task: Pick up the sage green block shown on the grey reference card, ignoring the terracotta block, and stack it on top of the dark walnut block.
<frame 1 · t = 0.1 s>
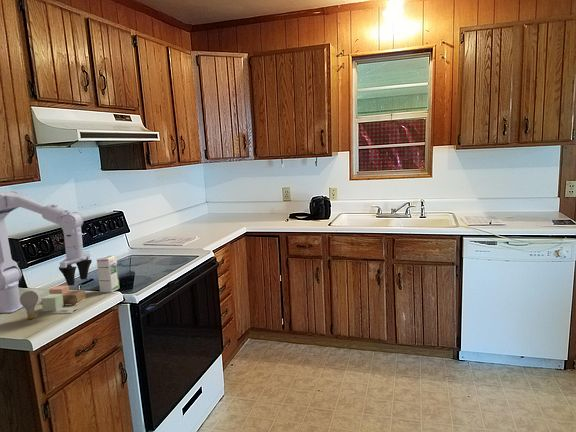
hand: (77, 282, 154), 10 cm above the worktop, tool pointing down, fingers open, 7 cm apart
light bulb: (31, 319, 146), on the worktop
sage block: (53, 309, 156), on the worktop
walnut block: (74, 302, 163), on the worktop
reference card: (65, 311, 153), on the worktop
syrup box: (109, 290, 177), on the worktop
terracotta block: (60, 299, 167), on the worktop
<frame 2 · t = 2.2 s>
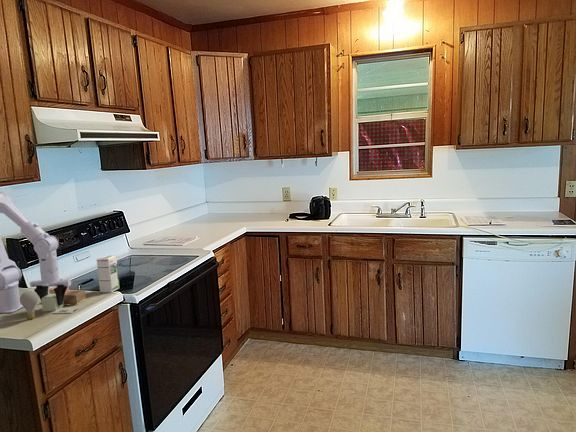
hand: (53, 305, 156), 1 cm above the worktop, tool pointing down, fingers closed on sage block, 5 cm apart
sage block: (53, 308, 156), on the worktop, touching gripper
everything else where it was.
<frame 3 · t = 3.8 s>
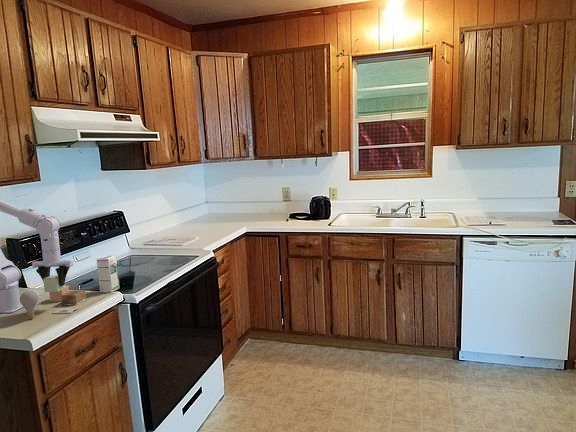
hand: (55, 285, 156), 8 cm above the worktop, tool pointing down, fingers closed on sage block, 5 cm apart
sage block: (55, 289, 156), point 7 cm above the worktop, touching gripper
everything else where it was.
when the fingers open (7 cm above the worktop, at t = 5.4 s): sage block drops 2 cm, resting on walnut block.
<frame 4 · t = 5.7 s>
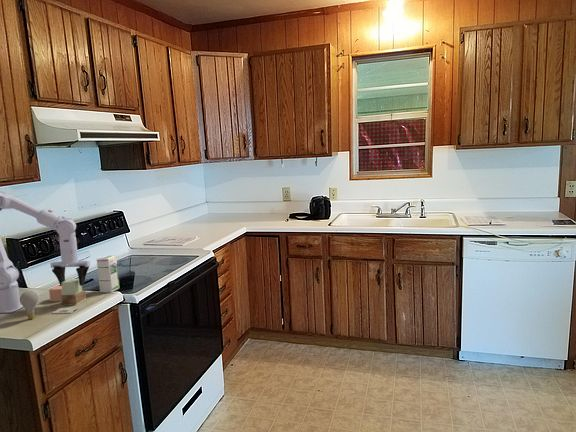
hand: (72, 285, 162), 7 cm above the worktop, tool pointing down, fingers open, 7 cm apart
sage block: (72, 293, 162), point 4 cm above the worktop, touching walnut block
walnut block: (74, 302, 163), on the worktop, touching sage block
everything else where it was.
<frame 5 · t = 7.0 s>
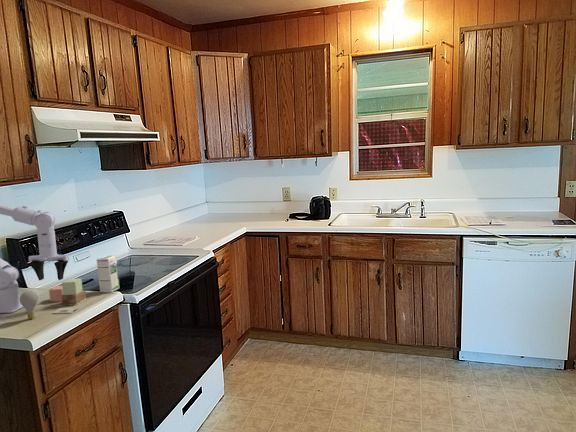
hand: (51, 279, 160), 10 cm above the worktop, tool pointing down, fingers open, 7 cm apart
sage block: (73, 292, 162), point 4 cm above the worktop
walnut block: (74, 302, 163), on the worktop
everything else where it was.
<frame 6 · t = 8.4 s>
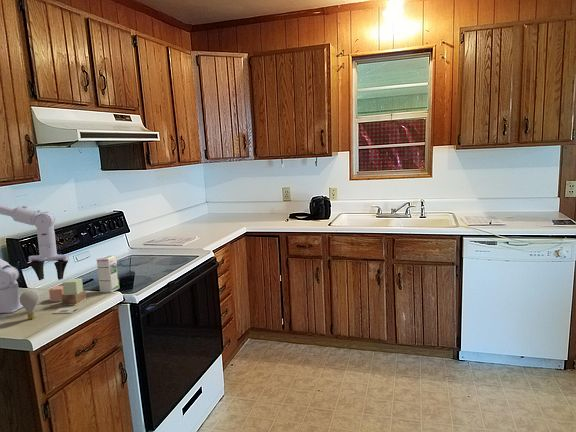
hand: (51, 279, 160), 10 cm above the worktop, tool pointing down, fingers open, 7 cm apart
sage block: (73, 292, 162), point 4 cm above the worktop, touching walnut block
walnut block: (74, 302, 163), on the worktop, touching sage block
everything else where it was.
at the end: sage block 0.1 cm off-centre on the walnut block, point 4.0 cm above the walnut block's base; sage block tilted 0°; the gripper is holding nothing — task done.
